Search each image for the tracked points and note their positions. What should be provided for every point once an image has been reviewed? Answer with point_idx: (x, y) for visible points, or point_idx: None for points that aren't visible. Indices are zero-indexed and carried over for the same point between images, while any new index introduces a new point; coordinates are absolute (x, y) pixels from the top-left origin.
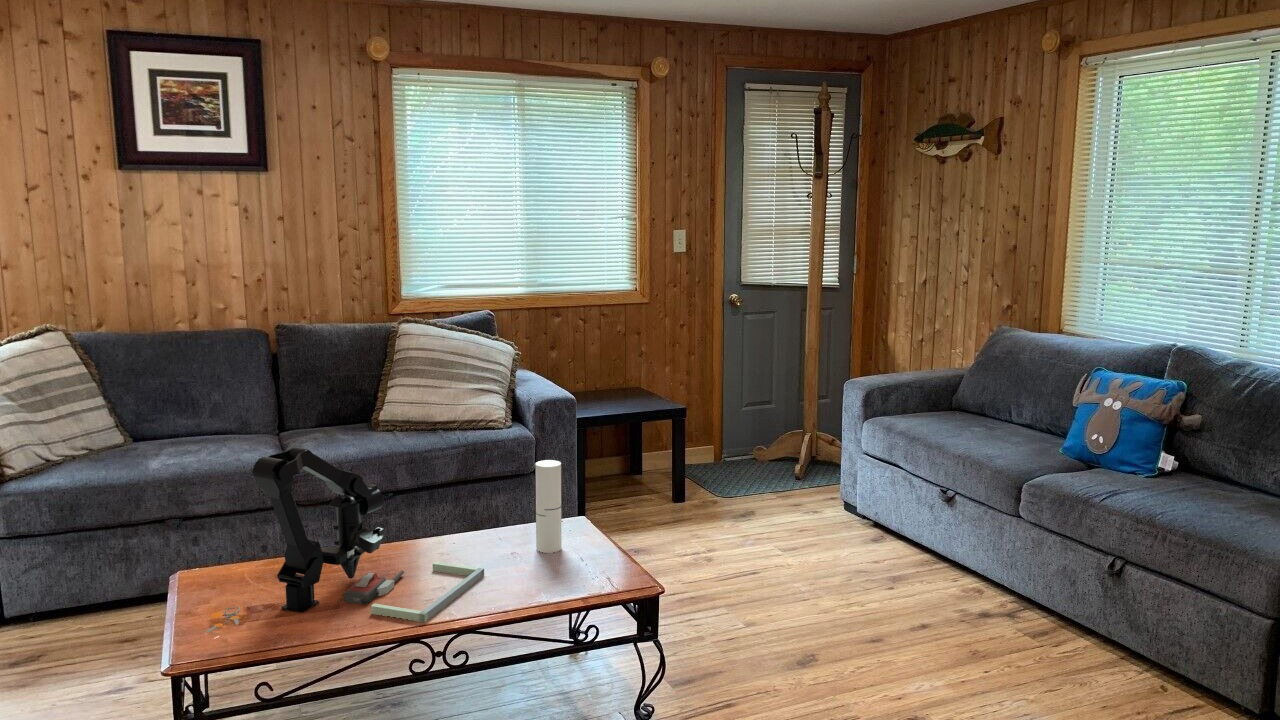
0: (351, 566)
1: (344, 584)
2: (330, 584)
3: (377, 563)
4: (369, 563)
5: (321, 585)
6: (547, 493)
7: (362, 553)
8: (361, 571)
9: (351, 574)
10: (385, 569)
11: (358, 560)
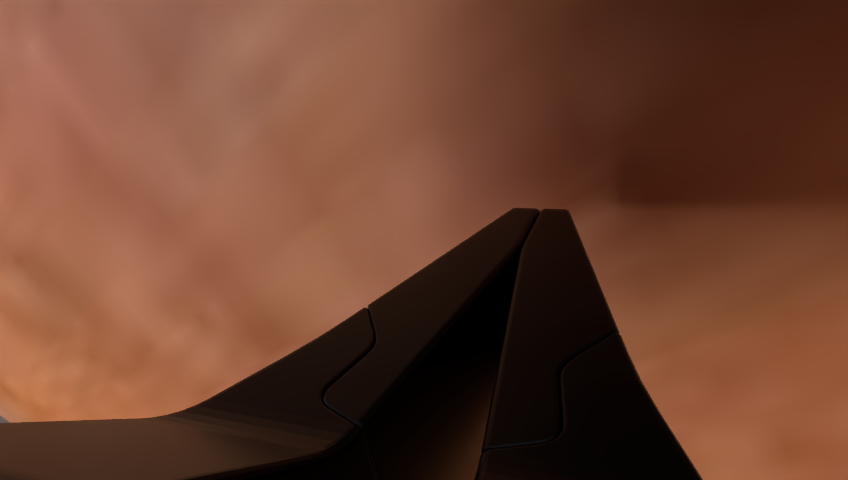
0: (624, 369)
1: (681, 239)
2: (738, 393)
3: (38, 216)
4: (95, 281)
5: (804, 466)
6: None
7: (50, 461)
8: (249, 255)
9: (582, 252)
10: (27, 32)
11: (296, 362)
